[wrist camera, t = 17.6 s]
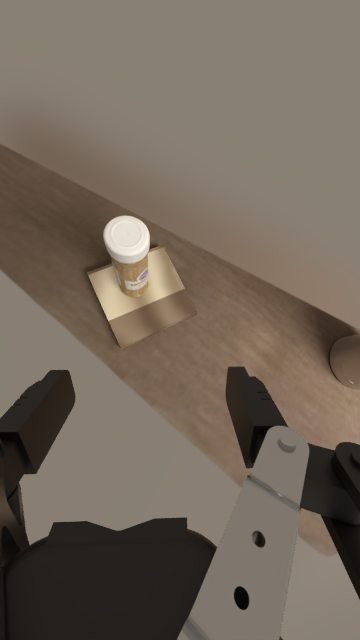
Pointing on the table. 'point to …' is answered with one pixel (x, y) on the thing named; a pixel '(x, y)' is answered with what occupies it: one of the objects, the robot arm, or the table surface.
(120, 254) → the sprinkles bottle
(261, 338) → the table surface
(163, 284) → the board
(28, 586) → the robot arm
